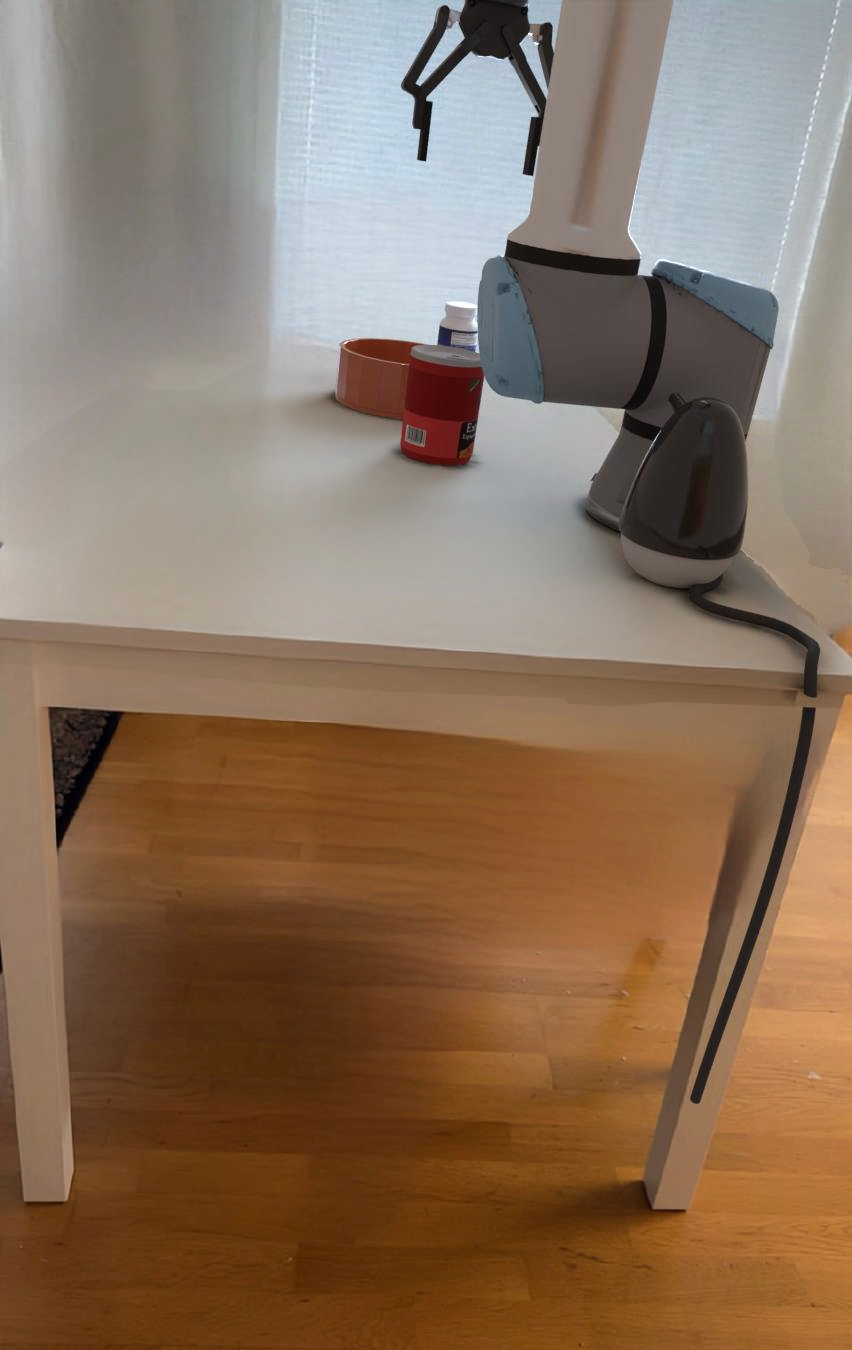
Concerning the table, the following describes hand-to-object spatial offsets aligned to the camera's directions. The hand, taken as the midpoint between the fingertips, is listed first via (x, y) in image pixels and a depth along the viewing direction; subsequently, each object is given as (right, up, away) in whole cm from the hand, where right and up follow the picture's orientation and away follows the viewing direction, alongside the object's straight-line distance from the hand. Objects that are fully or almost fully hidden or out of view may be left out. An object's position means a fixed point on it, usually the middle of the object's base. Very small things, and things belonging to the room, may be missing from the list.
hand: (475, 168), depth 132 cm
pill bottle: (-2, -19, +25) cm, 31 cm away
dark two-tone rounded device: (+15, -55, -42) cm, 70 cm away
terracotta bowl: (-10, -28, +3) cm, 30 cm away
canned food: (-5, -39, -17) cm, 43 cm away
